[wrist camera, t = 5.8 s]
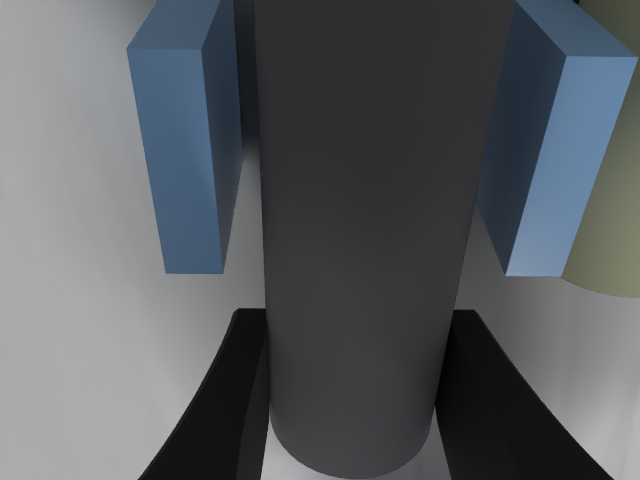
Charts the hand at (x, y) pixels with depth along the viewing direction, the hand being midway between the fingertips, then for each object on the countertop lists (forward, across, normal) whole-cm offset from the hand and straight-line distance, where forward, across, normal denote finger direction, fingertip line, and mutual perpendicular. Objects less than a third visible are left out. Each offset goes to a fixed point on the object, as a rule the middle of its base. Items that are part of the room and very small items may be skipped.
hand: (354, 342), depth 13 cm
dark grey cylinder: (+2, 0, -3) cm, 4 cm away
